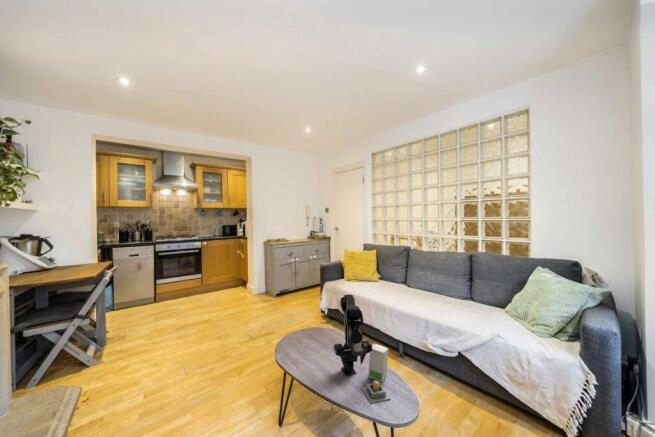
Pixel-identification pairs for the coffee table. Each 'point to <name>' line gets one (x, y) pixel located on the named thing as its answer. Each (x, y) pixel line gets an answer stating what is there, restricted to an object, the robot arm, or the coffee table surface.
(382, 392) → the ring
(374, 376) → the skincare box
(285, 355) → the coffee table surface
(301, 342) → the coffee table surface
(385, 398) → the piston base
